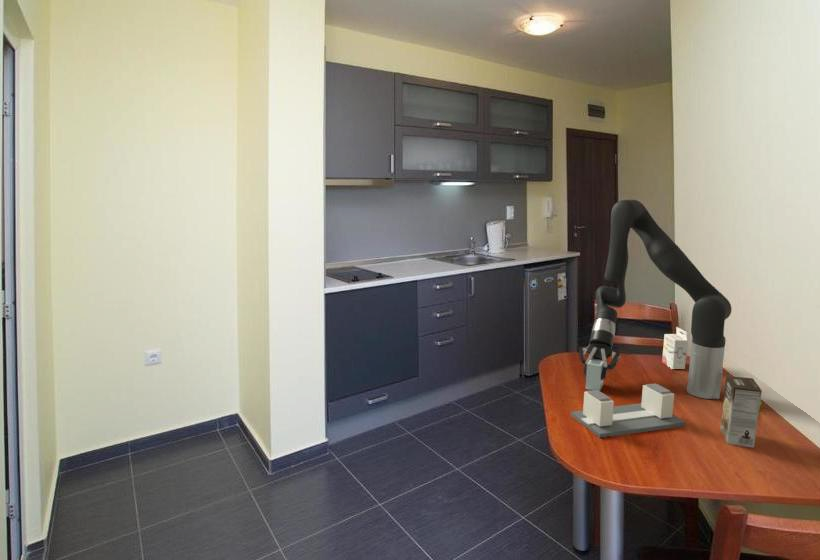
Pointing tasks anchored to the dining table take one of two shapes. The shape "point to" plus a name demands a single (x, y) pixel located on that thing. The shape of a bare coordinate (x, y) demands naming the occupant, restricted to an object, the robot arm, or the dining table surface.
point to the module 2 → (657, 400)
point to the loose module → (594, 374)
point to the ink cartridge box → (675, 349)
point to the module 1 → (598, 407)
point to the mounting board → (629, 421)
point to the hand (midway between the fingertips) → (594, 377)
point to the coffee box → (740, 411)
